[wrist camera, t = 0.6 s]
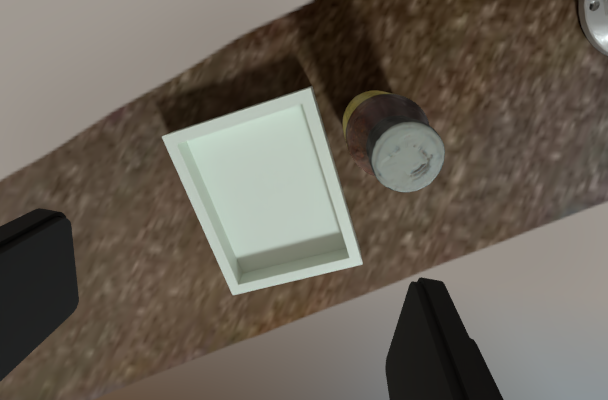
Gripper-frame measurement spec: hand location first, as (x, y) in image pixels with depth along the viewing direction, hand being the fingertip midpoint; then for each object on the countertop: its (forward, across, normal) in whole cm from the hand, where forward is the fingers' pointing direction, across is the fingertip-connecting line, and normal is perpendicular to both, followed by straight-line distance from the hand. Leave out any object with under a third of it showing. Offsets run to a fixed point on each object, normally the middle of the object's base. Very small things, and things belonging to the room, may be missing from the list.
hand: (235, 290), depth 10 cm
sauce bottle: (+32, -6, -1) cm, 32 cm away
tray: (+31, +3, +9) cm, 32 cm away
